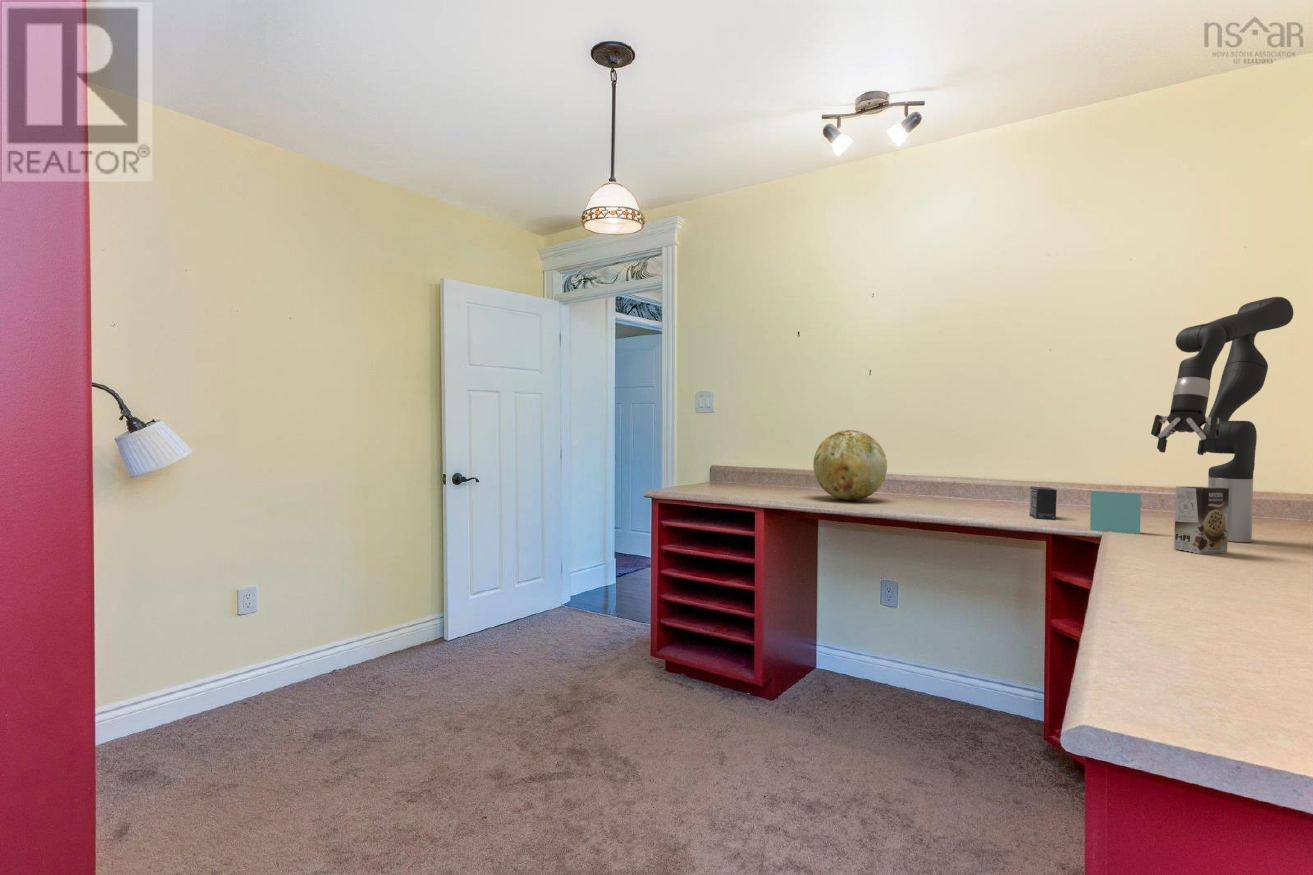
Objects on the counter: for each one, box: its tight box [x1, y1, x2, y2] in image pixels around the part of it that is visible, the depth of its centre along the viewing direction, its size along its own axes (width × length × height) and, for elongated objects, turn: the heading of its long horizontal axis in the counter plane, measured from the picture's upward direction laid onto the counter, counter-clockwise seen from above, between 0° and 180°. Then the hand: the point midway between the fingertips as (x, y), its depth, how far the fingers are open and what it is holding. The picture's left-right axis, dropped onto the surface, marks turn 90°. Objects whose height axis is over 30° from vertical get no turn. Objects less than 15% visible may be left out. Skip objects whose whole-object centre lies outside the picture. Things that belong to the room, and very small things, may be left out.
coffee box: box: [1173, 486, 1229, 555], centre depth 155 cm, size 9×6×16 cm
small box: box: [1028, 486, 1058, 520], centre depth 218 cm, size 11×6×10 cm, turn 160°
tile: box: [1089, 489, 1142, 535], centre depth 187 cm, size 4×12×12 cm, turn 53°
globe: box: [812, 429, 888, 502], centre depth 266 cm, size 30×30×30 cm
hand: (1180, 453), depth 171 cm, fingers open, 8 cm apart
